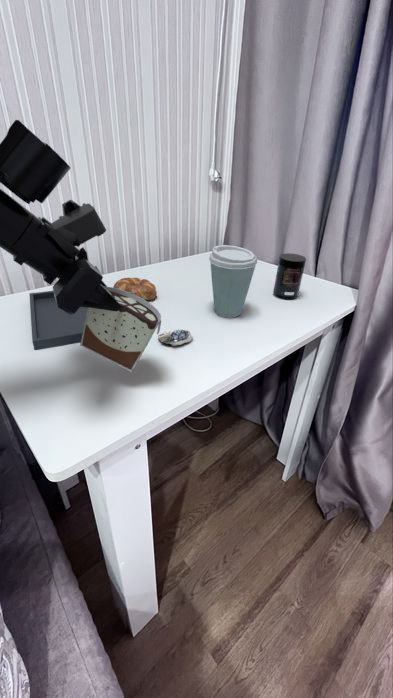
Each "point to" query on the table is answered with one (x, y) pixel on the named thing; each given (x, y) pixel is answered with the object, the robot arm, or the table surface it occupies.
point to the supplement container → (289, 275)
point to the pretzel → (137, 287)
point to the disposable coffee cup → (231, 278)
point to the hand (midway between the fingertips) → (114, 301)
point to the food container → (121, 329)
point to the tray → (54, 322)
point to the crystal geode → (176, 337)
